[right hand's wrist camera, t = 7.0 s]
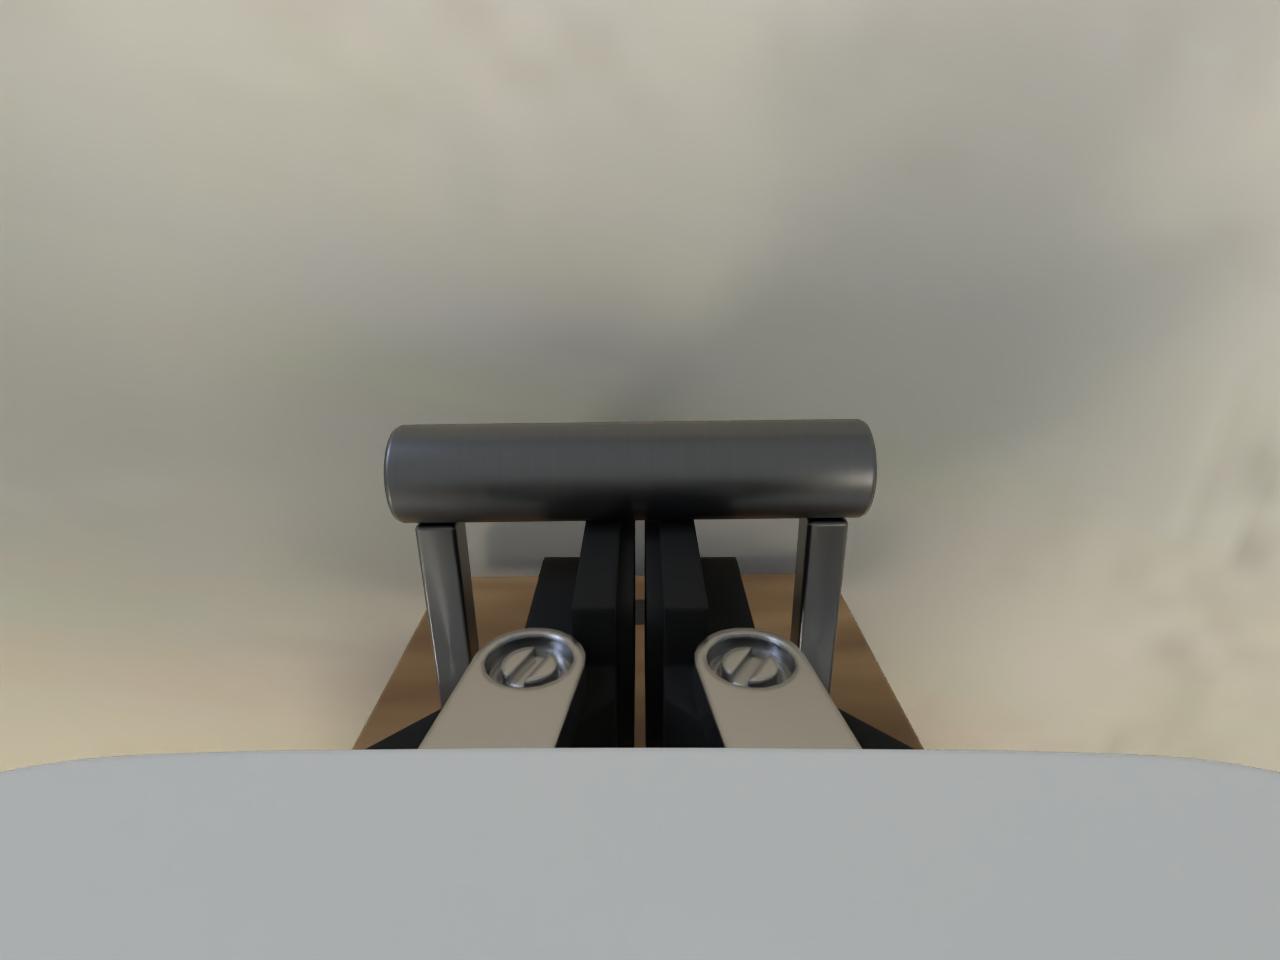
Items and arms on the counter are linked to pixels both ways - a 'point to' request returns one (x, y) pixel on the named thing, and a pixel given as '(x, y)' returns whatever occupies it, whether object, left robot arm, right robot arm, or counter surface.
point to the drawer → (631, 490)
